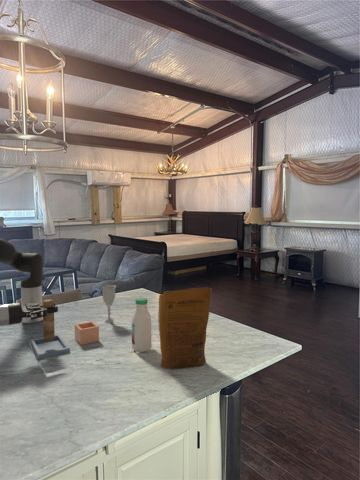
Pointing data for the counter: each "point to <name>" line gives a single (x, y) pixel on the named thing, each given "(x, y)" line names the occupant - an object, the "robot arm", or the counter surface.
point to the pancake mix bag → (183, 327)
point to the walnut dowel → (48, 322)
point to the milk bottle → (141, 327)
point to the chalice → (108, 299)
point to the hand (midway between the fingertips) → (56, 307)
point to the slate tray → (49, 347)
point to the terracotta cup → (86, 332)
